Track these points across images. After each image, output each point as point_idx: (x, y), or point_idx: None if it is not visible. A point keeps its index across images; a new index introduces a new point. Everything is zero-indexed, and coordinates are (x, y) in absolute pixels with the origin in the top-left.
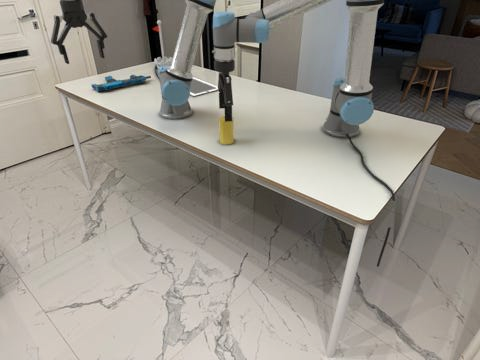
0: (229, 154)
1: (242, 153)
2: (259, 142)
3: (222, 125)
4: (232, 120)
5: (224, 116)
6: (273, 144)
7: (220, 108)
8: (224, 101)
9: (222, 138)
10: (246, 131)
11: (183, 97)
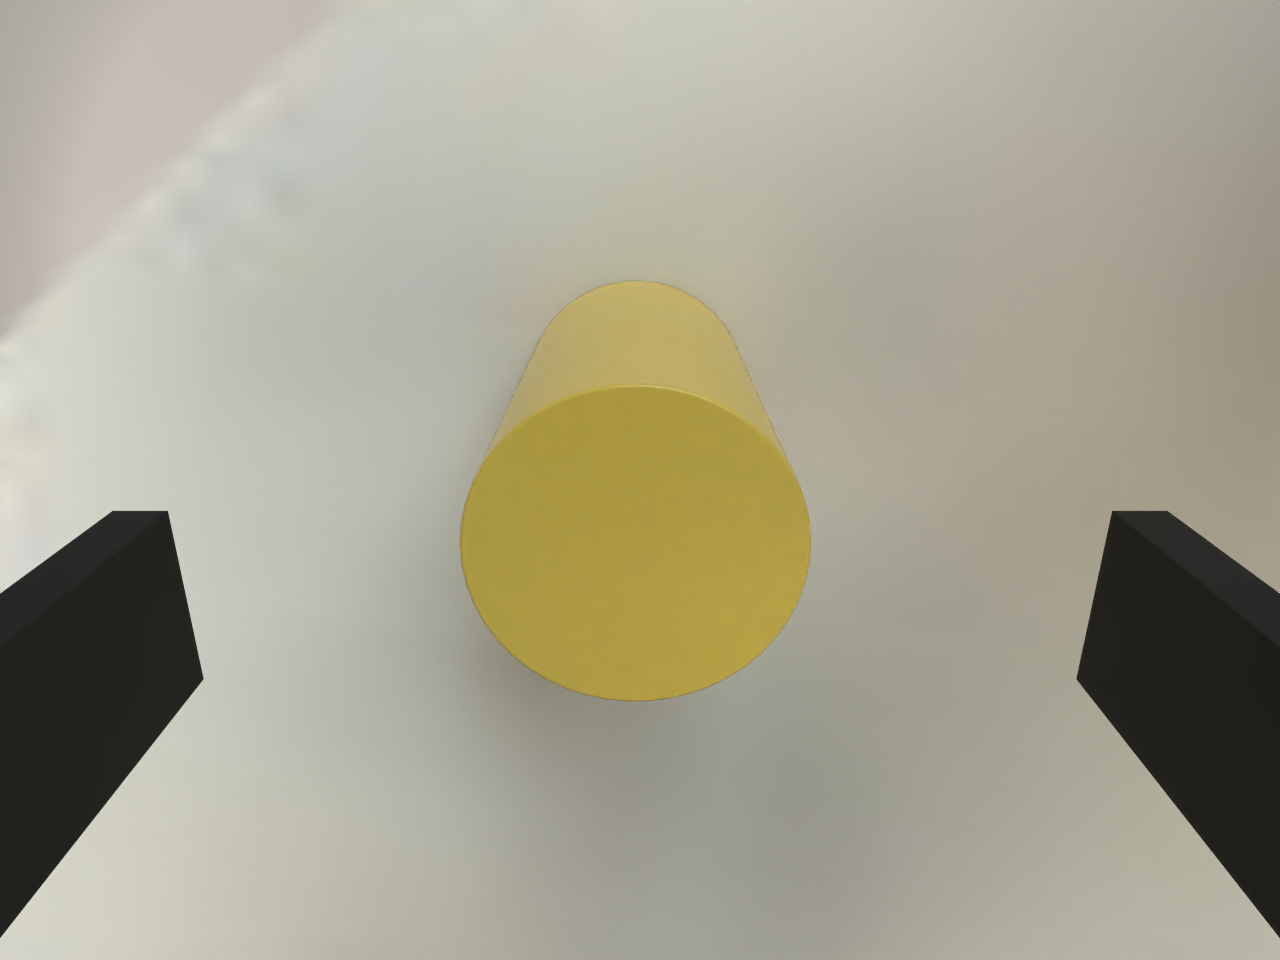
0: (212, 356)
1: (234, 532)
2: (523, 784)
3: (510, 410)
4: (536, 666)
5: (794, 539)
6: (444, 907)
7: (1110, 538)
8: (1202, 783)
9: (551, 332)
10: (892, 708)
11: None
